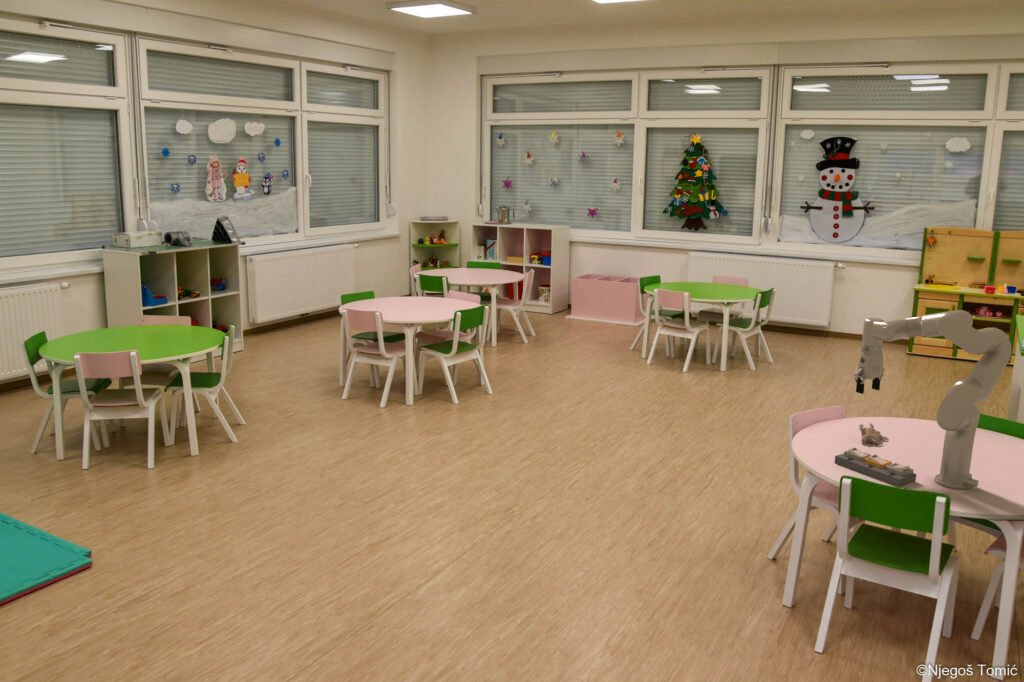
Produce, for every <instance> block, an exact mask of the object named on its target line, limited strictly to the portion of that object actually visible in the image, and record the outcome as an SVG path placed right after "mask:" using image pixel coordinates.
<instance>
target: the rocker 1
mask: <svg viewBox="0 0 1024 682" xmlns="http://www.w3.org/2000/svg"><path fill="white" fill-rule="evenodd" d="M848 450H849V452H850V453H852V454H855V455H858V456H865V455H867V454H865V453H866V452H865V453H864V451H862V450H861V449H859V448H857V447H851V448H848Z"/></svg>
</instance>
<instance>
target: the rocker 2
mask: <svg viewBox="0 0 1024 682" xmlns="http://www.w3.org/2000/svg"><path fill="white" fill-rule="evenodd" d="M890 467H892V468H894V469H897V470H902V471H903V470H907V469H910V468H911V467H910V465H904V464H903V465H902V464H899V465H893V466H890Z"/></svg>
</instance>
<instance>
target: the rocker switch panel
mask: <svg viewBox="0 0 1024 682" xmlns="http://www.w3.org/2000/svg"><path fill="white" fill-rule="evenodd" d="M863 452H864V451H863ZM864 453H865V454H867V455H865V456H858V455H855V454H852V453H850V452H849V449H848V450H845V451H844V452H843V453H841V454H837V455H834V464H837V465H839V466H842V467H844V468H847V469H849V470H852V471H855V472H858V473H860V474H863V475H866V476H868V477H871V478H874V479H876V480H879V481H882V482H884V483H887V484H889V485H893V486H895V487H898V486H899V487H898V488H900V487H903V486H906V485H909V484H912V483H915V482H916V480H917V474H916V473H915V472H914V469H913V468H911V467H909V468H910V469H907V470H903V471H902V470H897V469H894V468H892V467H890V466H893V465H900V463H897V462H894V463H893V462H892V461H891V460H888V459H884V458H883V459H884V460H885V461H887V462H886V463H883V464H880V463H877V462H875V461H872V460H870V459H869V456H871V455H872V454H871V453H867V452H864Z"/></svg>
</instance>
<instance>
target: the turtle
mask: <svg viewBox="0 0 1024 682" xmlns="http://www.w3.org/2000/svg"><path fill="white" fill-rule="evenodd" d="M858 428H859V431H861V445H862V446H865V445H866V443H869V444H876V445H879V446H881V445H883V444H884V442H883V440H887V441H890V439H889V437H887V436H883V435H882V434H881V431H879V430H876V429H875V425H874V424H872V423H871V422H870V423H869V427H864V424H859V425H858Z"/></svg>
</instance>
